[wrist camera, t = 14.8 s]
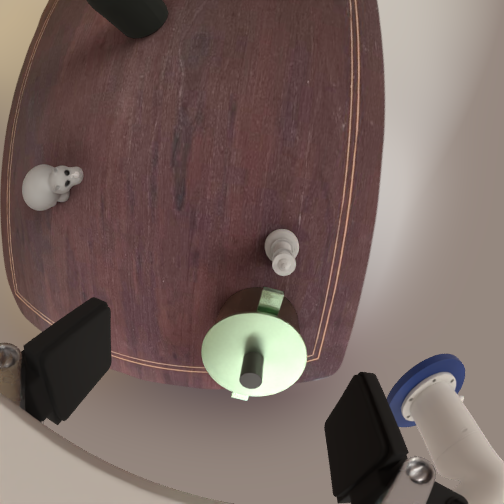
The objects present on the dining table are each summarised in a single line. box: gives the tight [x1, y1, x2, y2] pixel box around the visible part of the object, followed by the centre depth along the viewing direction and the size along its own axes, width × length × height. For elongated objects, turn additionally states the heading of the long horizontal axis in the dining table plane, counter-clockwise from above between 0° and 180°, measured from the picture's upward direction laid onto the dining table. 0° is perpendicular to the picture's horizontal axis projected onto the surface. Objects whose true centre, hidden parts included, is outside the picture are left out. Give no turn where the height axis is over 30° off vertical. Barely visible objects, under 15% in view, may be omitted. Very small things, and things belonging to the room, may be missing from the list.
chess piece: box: [265, 229, 299, 276], centre depth 31 cm, size 4×4×10 cm
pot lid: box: [201, 311, 307, 396], centre depth 28 cm, size 12×12×5 cm
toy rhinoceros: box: [22, 164, 83, 211], centre depth 32 cm, size 7×12×8 cm, turn 95°
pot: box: [214, 287, 300, 401], centre depth 34 cm, size 11×17×8 cm
